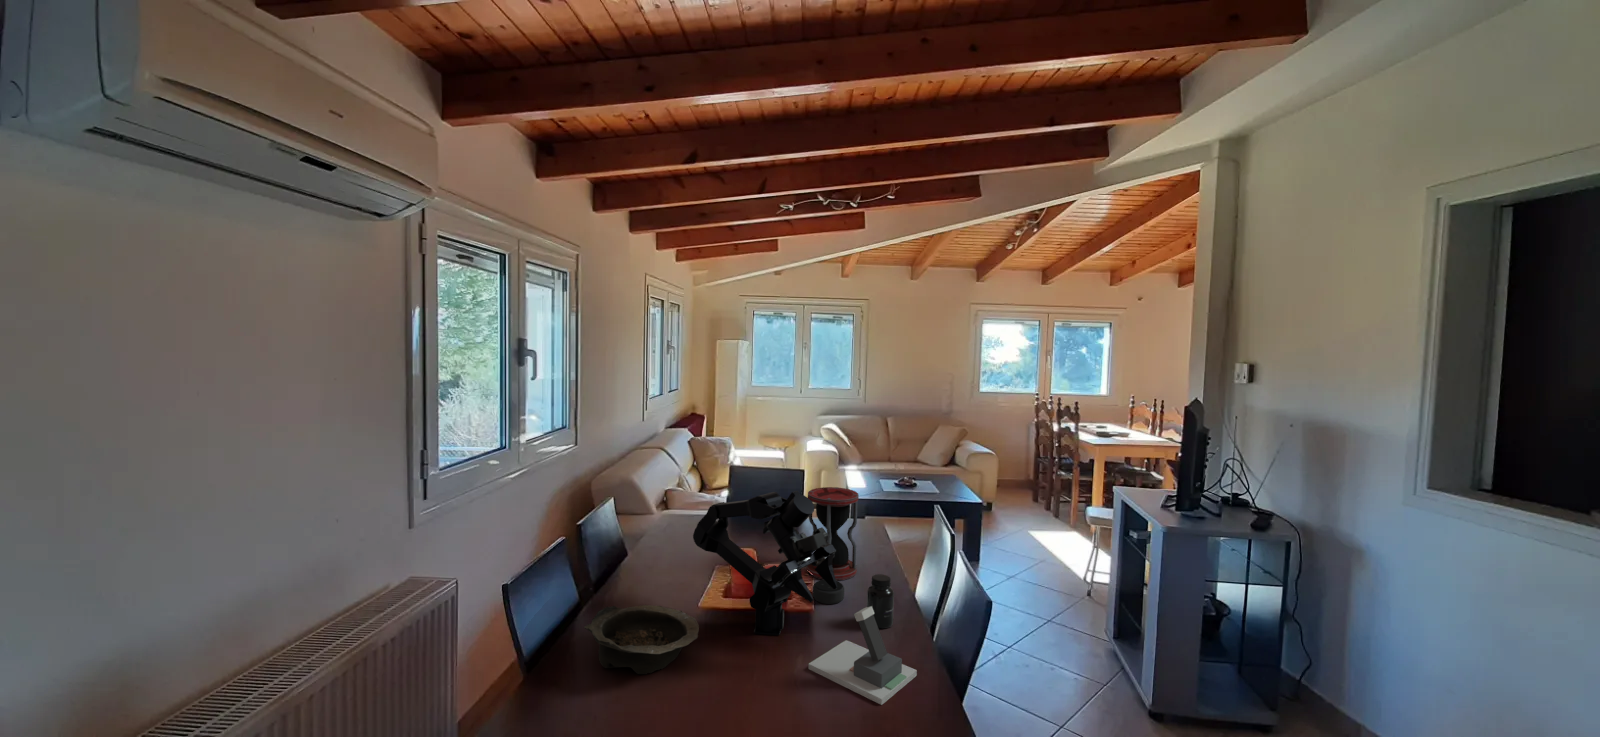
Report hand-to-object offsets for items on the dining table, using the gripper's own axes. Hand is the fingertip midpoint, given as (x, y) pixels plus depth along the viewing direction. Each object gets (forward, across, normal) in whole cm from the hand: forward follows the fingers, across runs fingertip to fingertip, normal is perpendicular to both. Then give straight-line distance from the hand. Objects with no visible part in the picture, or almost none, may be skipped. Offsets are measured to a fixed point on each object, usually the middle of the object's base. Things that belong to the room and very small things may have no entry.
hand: (824, 594), depth 134 cm
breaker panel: (+18, -1, +2) cm, 18 cm away
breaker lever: (+18, -1, -4) cm, 18 cm away
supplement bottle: (+11, +21, +9) cm, 26 cm away
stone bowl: (-12, -28, +31) cm, 43 cm away
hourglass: (-10, +41, +29) cm, 52 cm away
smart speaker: (-2, +24, +22) cm, 33 cm away
